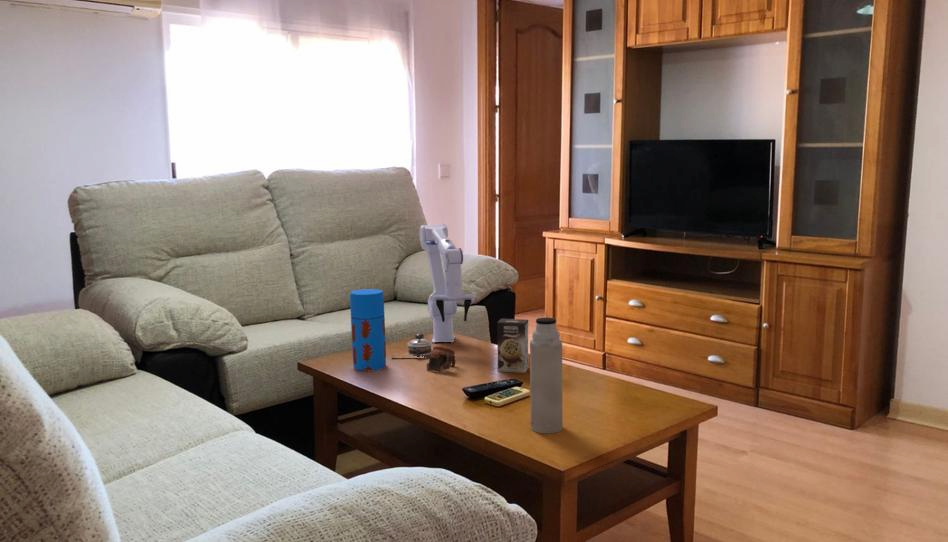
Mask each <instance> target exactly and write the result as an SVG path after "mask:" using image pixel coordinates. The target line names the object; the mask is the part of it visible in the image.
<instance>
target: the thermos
mask: <svg viewBox="0 0 948 542" xmlns="http://www.w3.org/2000/svg"><path fill="white" fill-rule="evenodd" d="M384 296H385V295H384V291H383V290H382V289H376V288H367V289H356V290H352V291H351V292H350V293H349V305H350V309H349V310H350V328H351V329H350V330H351V348H352V351H351V353H352V354H351V355H352V362H353V364H352V365H353V369H354V368H355V369H354V370H356V369H357V370H356V371H359V370H367V371H366V372H369V371H368V370H375V371H378V370H377V369H380V370H382V369H381V368H383V369H384V367H385V368H386V367H387V366H386V365H387V364H386V363H387V349H386V347H387V346H386V321H385V297H384Z"/></svg>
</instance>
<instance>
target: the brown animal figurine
mask: <svg viewBox="0 0 948 542" xmlns="http://www.w3.org/2000/svg"><path fill="white" fill-rule="evenodd" d="M432 348H433V350H432V351H431V352H430V353H429V356H430V358H428V361H429V362H428V363H426V371H433V372H437V371H438V372H439V373H441V371H442V370H441V369H442V368H443V369H444V370H449V369H450V366H452V367H454V366H455V365H456V356H455V355H456V352H455V351H454V350H453V349H450V348H448V347H443V346H434V347H432Z"/></svg>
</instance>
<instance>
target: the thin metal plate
mask: <svg viewBox="0 0 948 542" xmlns="http://www.w3.org/2000/svg"><path fill="white" fill-rule="evenodd" d="M428 341H429V343H428V344H425V345H412V344H410V341H408V342H407V349H408V354H409V355H413V356H417V357H420V356H422V357H423V356H424V359H429V358H430V356H429V353H430V352H431V351H432V349H431V348H432V344H433V343H432V341H430V340H428ZM425 357H426V358H425ZM392 358H393V357H392V356H391V359H392ZM395 358H396V357H395Z"/></svg>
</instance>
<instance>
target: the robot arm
mask: <svg viewBox="0 0 948 542" xmlns="http://www.w3.org/2000/svg"><path fill="white" fill-rule="evenodd" d="M448 236H449V230H448V226H447V225H446V224H444V223H442V224H429V225H427V224H426V225H424V224H423V225H420V227H419V236H418V237H419V241H420V242H419V243H420V247H421V249H422V250H423V251H426V252H425V253H426V255H427V260H428V266H429V271H430V278H431V283H432V288H433V289H432V291H433V292H432V293H431V294H430V295H429V296H428V298H427V311H428V315H429V316H430V317H431V318H432V325H433V326H432V329H433V337H432V339H431V342H433V343H432V344H436V343H435V342H451V343H454V342H455V337H456V336H455V335H454V334H453V333H454V332H453V329H454V328H453V327H454V326H453V325H454V324H453V318H455V315H456V314H457V312H458V305H457V304H458V303H457V302H460V301H461V302H462V301H463V304H464V305H463V308H464V309H463V310H464V311H463V313H464V315H463V317H464V319H463V321H464V322H467V317H468V313H469V310H470V307H471V305H472V302H474V301H475V294H470V293H469V294H468V293H467V294H466V293H463V290H462V265H463V263H464V253H463V250H462V248H461V247H457V246H456V245H455V244H454V242H453V241H452V240H451V239H450V238H449V237H448Z"/></svg>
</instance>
